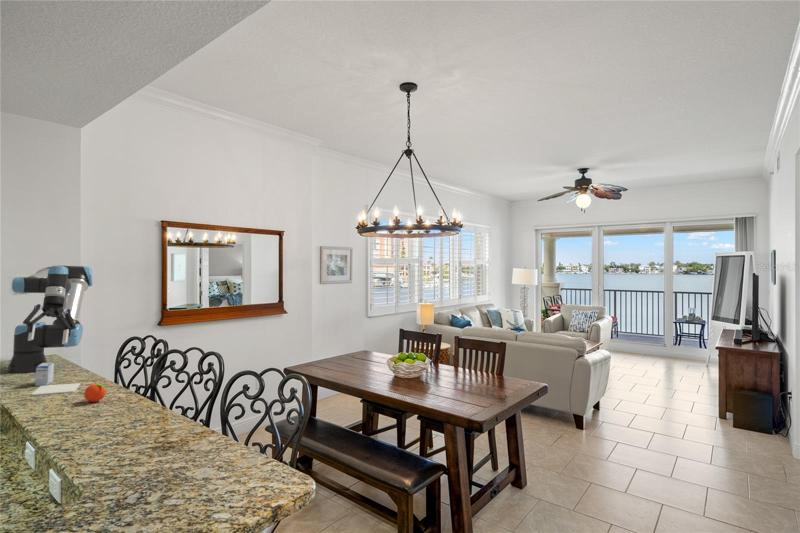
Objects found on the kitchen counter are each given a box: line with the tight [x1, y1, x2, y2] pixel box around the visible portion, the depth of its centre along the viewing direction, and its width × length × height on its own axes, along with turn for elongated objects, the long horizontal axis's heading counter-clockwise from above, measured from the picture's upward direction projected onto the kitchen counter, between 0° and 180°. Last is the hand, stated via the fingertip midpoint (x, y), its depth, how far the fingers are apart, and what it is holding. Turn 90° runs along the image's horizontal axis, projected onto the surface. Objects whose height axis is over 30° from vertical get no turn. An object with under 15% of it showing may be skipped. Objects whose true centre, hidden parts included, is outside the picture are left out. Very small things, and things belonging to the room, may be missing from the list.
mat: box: [30, 382, 81, 397], centre depth 181 cm, size 14×14×1 cm
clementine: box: [83, 382, 107, 403], centre depth 167 cm, size 8×7×7 cm
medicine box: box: [34, 362, 55, 387], centre depth 189 cm, size 8×4×9 cm, turn 25°
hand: (48, 341), depth 194 cm, fingers open, 13 cm apart
